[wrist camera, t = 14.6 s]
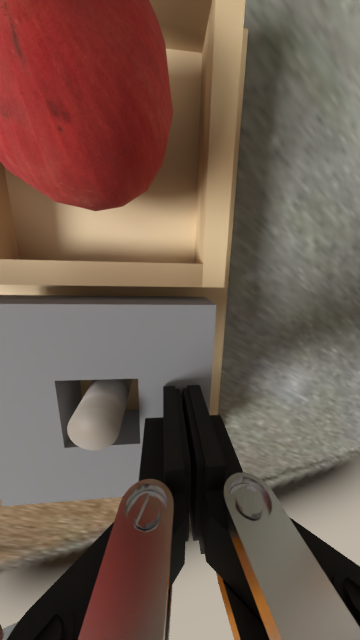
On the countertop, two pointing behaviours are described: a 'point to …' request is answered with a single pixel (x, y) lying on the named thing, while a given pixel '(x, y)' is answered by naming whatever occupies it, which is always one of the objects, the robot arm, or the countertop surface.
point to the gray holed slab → (89, 364)
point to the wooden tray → (147, 209)
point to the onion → (83, 98)
